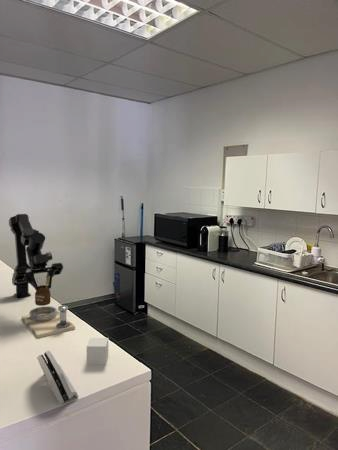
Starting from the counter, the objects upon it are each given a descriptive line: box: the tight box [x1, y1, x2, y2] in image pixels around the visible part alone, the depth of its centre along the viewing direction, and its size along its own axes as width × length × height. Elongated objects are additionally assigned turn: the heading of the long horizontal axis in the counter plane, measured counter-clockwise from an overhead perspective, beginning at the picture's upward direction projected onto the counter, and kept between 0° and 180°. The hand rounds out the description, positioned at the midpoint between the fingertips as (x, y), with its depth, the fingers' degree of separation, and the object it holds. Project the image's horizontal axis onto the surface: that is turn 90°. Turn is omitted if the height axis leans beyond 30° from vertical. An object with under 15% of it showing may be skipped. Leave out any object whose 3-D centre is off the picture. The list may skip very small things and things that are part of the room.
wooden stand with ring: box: [21, 304, 76, 339], centre depth 134 cm, size 22×14×9 cm, turn 38°
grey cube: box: [86, 337, 109, 365], centre depth 107 cm, size 6×6×6 cm
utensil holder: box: [34, 276, 52, 307], centre depth 137 cm, size 6×6×12 cm
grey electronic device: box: [36, 350, 79, 405], centre depth 92 cm, size 17×5×10 cm, turn 33°
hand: (43, 288), depth 136 cm, fingers closed on utensil holder, 5 cm apart
